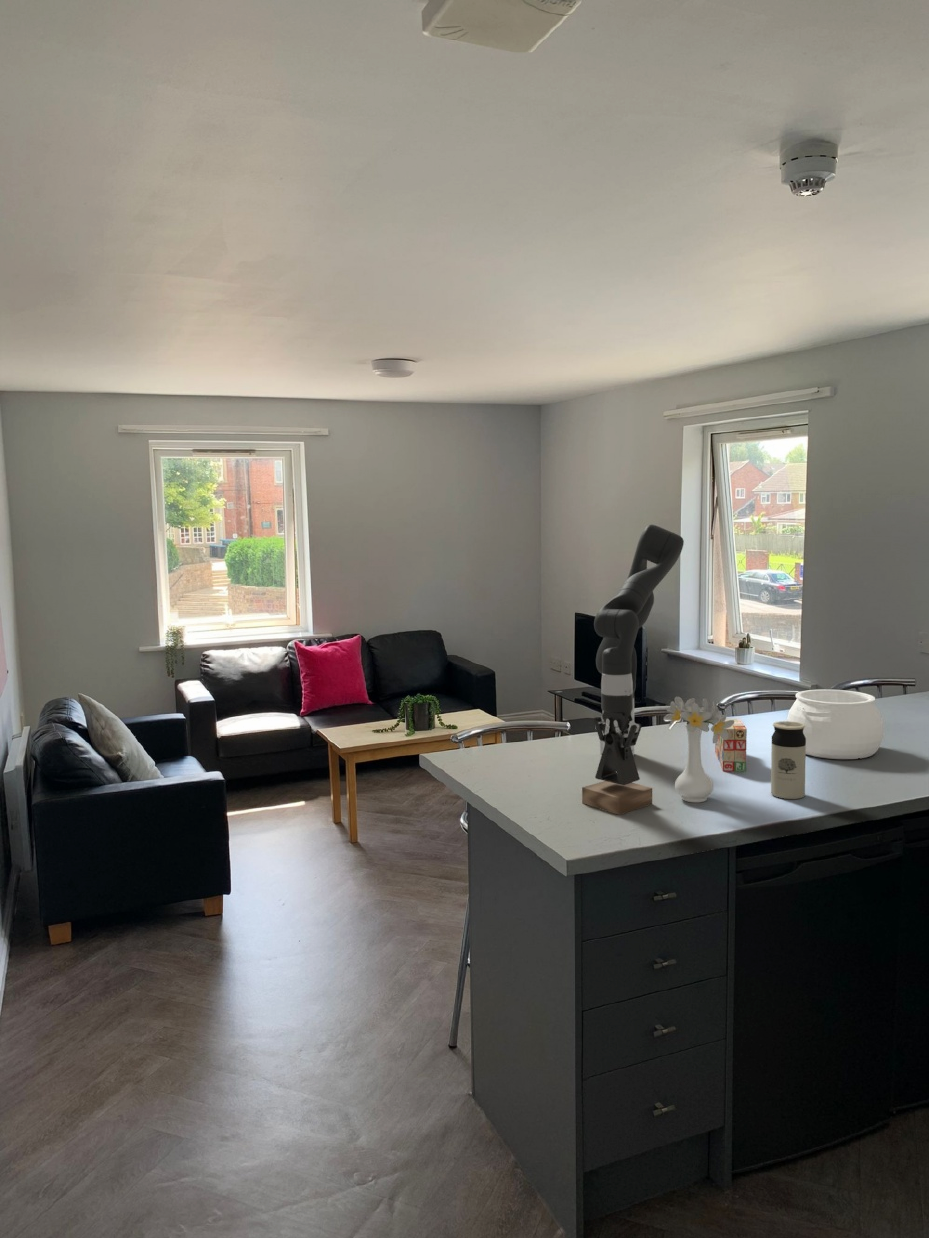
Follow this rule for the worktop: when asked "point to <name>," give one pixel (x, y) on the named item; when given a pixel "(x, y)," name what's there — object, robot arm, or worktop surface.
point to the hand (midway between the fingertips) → (617, 760)
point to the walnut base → (617, 796)
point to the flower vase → (696, 745)
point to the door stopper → (616, 763)
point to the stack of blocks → (733, 748)
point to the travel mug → (788, 760)
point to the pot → (838, 723)
